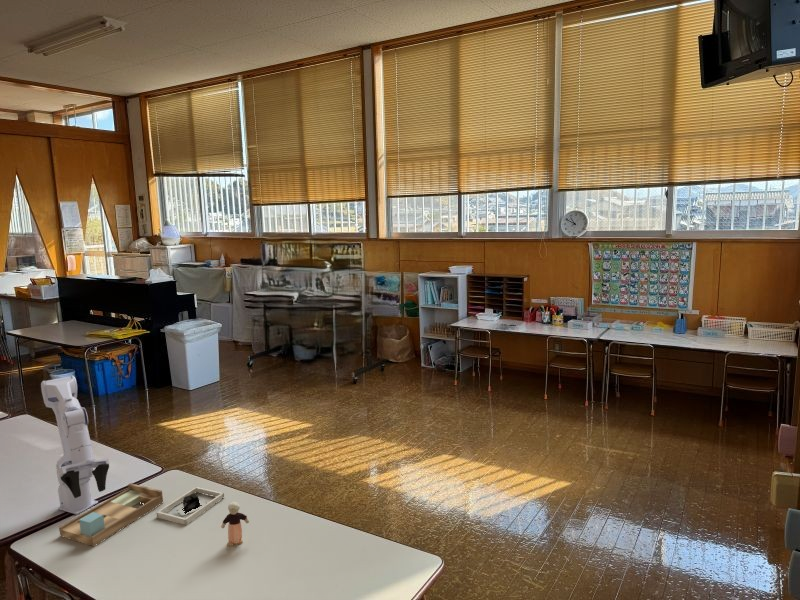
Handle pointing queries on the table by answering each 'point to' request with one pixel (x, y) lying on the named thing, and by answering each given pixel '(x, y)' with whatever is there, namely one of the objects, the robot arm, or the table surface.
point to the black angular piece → (190, 502)
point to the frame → (190, 518)
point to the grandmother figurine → (234, 524)
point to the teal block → (91, 524)
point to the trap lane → (115, 513)
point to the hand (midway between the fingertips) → (90, 493)
